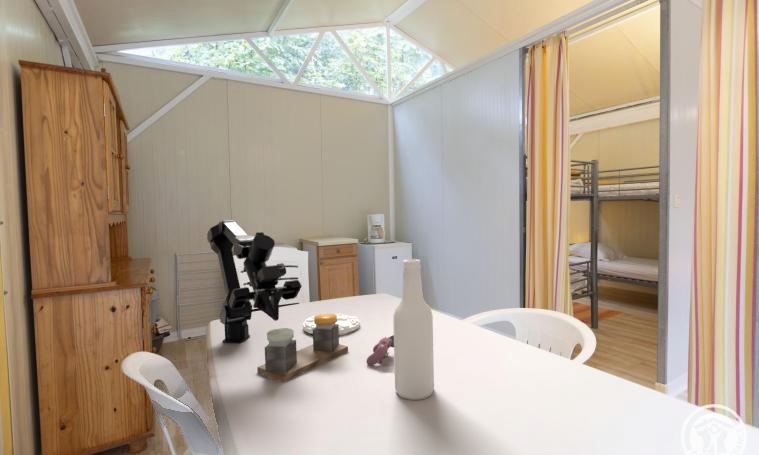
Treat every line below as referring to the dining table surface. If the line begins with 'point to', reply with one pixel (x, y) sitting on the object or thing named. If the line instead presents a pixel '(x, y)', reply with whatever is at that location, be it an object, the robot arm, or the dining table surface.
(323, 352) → the button board
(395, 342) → the alcohol
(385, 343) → the video game controller
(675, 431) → the dining table surface
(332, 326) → the orange button
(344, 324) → the giant coin
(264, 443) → the dining table surface
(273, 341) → the pale green rounded piece
